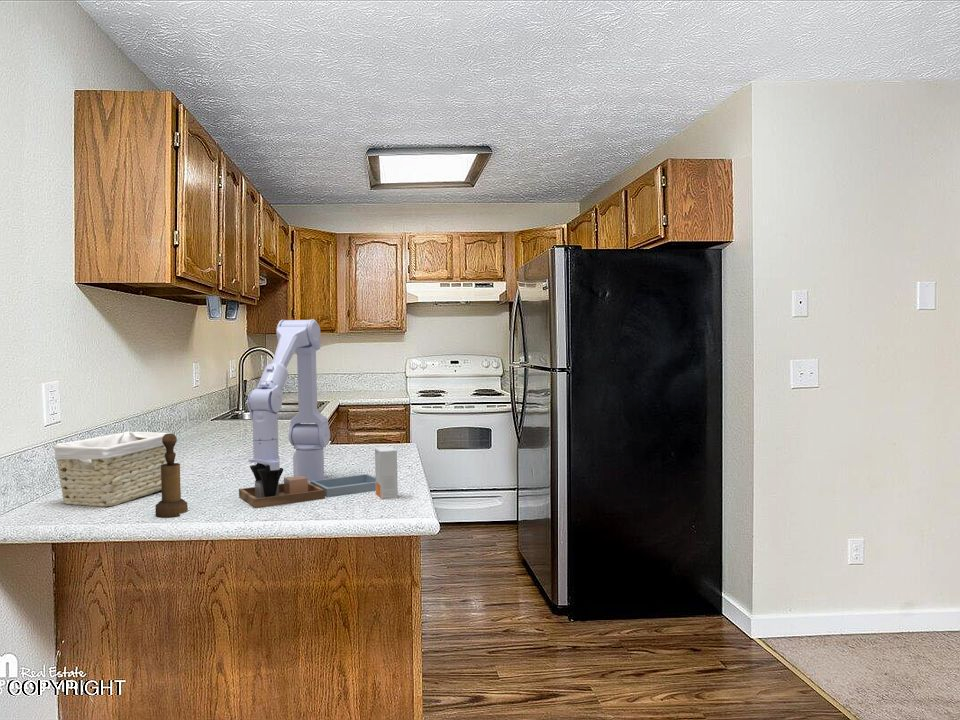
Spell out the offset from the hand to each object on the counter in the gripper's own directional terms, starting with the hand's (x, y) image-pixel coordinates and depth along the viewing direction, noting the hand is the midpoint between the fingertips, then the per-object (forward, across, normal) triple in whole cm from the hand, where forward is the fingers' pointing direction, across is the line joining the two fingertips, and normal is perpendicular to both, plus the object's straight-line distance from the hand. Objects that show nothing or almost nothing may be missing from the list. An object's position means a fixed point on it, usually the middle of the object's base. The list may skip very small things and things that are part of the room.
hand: (267, 496), depth 172 cm
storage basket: (+2, -29, -29) cm, 41 cm away
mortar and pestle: (+2, -1, -21) cm, 21 cm away
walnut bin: (+1, 0, +4) cm, 4 cm away
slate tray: (+1, 0, +20) cm, 21 cm away
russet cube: (+1, 0, +7) cm, 7 cm away
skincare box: (+2, +13, +25) cm, 28 cm away
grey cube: (+1, 0, 0) cm, 1 cm away
